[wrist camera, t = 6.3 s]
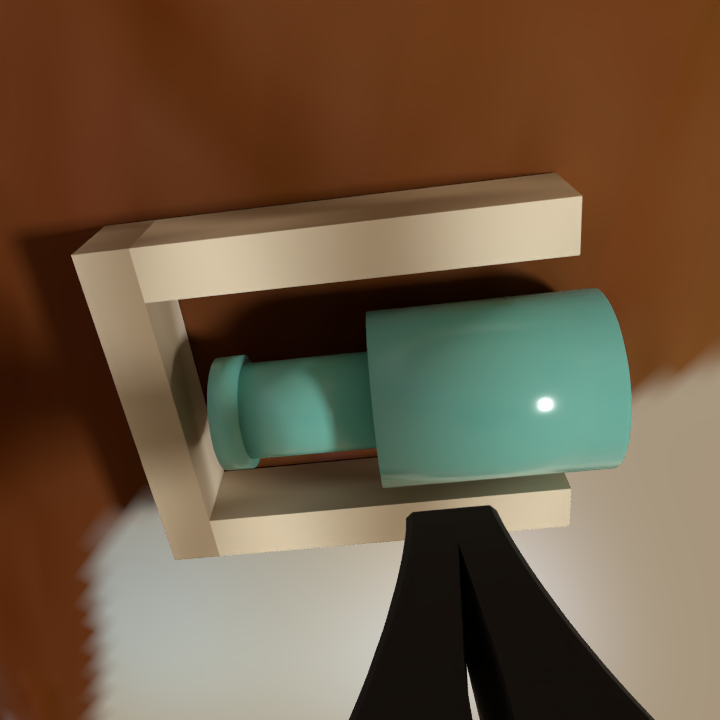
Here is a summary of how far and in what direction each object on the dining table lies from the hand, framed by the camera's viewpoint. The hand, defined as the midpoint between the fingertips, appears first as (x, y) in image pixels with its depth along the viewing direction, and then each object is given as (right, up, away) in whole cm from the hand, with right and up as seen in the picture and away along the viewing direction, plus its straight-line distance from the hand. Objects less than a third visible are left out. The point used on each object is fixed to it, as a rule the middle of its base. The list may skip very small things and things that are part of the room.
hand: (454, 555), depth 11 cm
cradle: (-1, +3, +6) cm, 7 cm away
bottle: (+4, +3, +4) cm, 6 cm away
